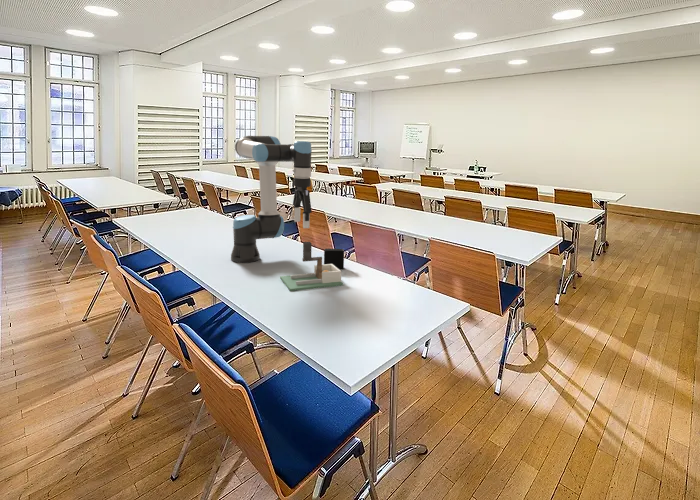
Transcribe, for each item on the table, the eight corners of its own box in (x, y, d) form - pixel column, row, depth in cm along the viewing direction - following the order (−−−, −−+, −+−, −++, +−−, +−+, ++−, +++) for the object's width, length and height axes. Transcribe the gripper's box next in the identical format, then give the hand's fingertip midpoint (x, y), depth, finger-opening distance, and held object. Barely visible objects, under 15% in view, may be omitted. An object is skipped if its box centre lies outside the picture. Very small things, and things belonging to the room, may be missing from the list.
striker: (301, 277, 205) (301, 241, 201) (319, 275, 209) (319, 240, 204) (304, 281, 200) (305, 244, 196) (323, 279, 204) (324, 243, 199)
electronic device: (323, 267, 228) (324, 248, 225) (343, 267, 229) (343, 248, 226) (324, 269, 224) (324, 250, 221) (343, 269, 225) (344, 250, 222)
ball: (330, 271, 209) (325, 278, 209) (323, 267, 208) (318, 274, 207) (332, 274, 206) (327, 281, 206) (326, 270, 204) (321, 276, 204)
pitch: (280, 278, 208) (280, 266, 206) (329, 273, 217) (330, 262, 216) (289, 291, 192) (289, 277, 190) (343, 285, 201) (343, 273, 200)
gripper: (286, 174, 202) (286, 219, 208) (302, 181, 180) (301, 231, 186) (301, 174, 205) (301, 218, 211) (319, 180, 183) (318, 230, 189)
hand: (301, 224), depth 199 cm, fingers open, 13 cm apart
